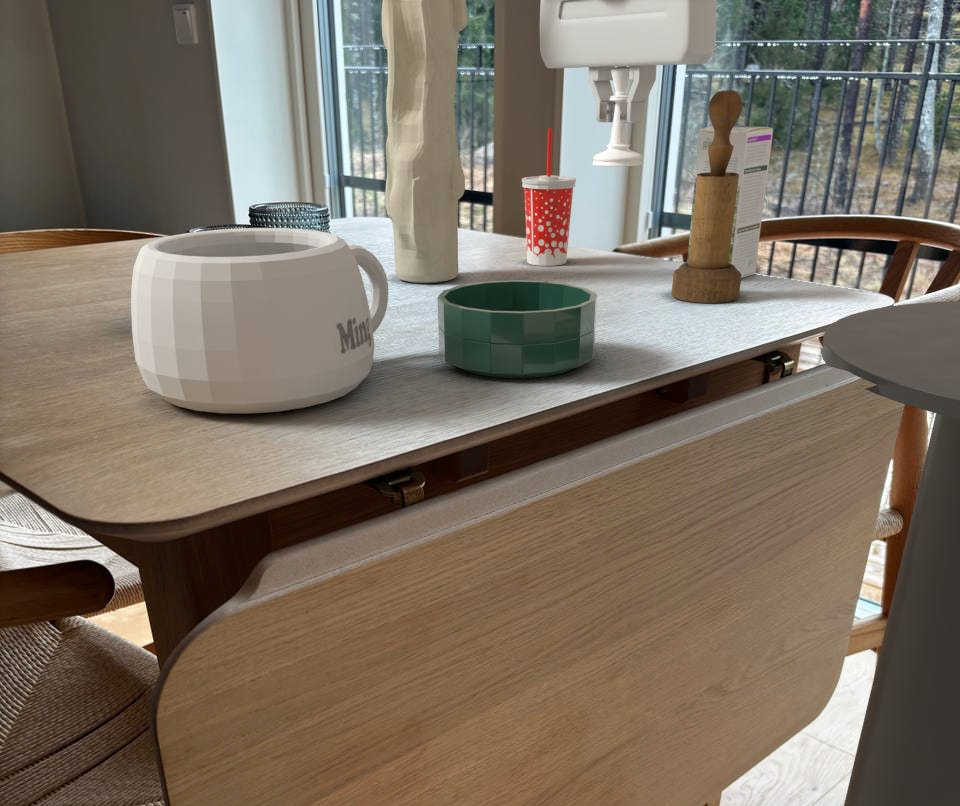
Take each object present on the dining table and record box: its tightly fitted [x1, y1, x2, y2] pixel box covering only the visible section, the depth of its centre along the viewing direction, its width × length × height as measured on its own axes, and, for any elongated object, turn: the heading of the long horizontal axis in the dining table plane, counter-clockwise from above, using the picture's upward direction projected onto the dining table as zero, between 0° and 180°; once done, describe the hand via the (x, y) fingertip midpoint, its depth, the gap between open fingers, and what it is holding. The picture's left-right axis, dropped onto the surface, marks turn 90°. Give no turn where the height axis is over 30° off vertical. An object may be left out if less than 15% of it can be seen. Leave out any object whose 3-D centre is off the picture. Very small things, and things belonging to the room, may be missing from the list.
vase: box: [381, 0, 469, 284], centre depth 99 cm, size 9×8×30 cm
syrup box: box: [686, 125, 774, 279], centre depth 104 cm, size 6×6×14 cm
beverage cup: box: [521, 128, 577, 267], centre depth 112 cm, size 6×6×14 cm
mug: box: [130, 227, 389, 415], centre depth 70 cm, size 21×17×10 cm
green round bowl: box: [437, 279, 598, 379], centre depth 76 cm, size 12×12×5 cm
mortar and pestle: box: [670, 89, 743, 304], centre depth 93 cm, size 7×6×18 cm
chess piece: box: [592, 66, 644, 168], centre depth 93 cm, size 5×5×10 cm
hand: (619, 122), depth 93 cm, fingers closed on chess piece
